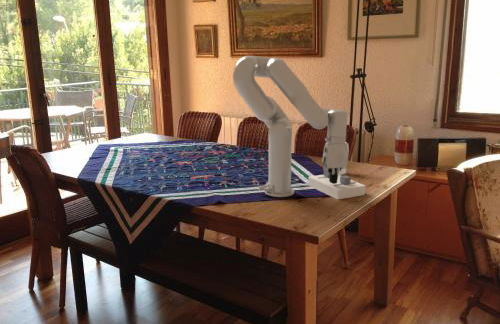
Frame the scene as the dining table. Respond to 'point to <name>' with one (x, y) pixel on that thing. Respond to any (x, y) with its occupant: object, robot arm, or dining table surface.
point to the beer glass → (343, 171)
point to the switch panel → (336, 187)
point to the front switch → (345, 179)
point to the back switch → (326, 173)
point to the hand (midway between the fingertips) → (333, 182)
